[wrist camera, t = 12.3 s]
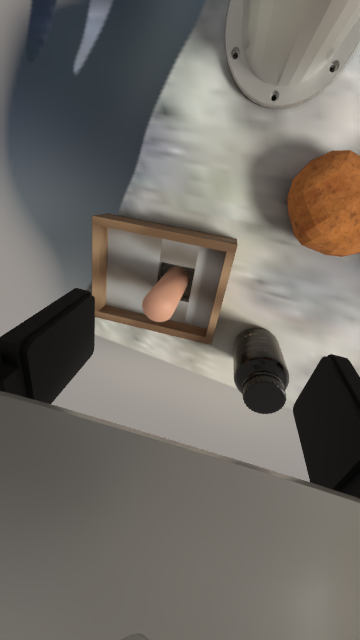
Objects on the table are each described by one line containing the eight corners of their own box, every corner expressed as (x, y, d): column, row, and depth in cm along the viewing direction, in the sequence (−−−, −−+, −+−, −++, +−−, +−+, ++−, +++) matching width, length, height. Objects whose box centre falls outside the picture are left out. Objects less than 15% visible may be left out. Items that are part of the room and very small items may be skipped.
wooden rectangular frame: (108, 213, 35) (92, 215, 31) (236, 239, 33) (237, 245, 29) (105, 304, 41) (91, 316, 37) (213, 330, 40) (211, 344, 36)
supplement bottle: (283, 358, 40) (302, 416, 29) (241, 368, 42) (244, 425, 31) (271, 320, 37) (287, 369, 27) (227, 333, 40) (225, 382, 29)
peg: (167, 264, 37) (143, 288, 27) (191, 269, 36) (176, 295, 27) (163, 287, 38) (140, 317, 29) (186, 292, 38) (171, 325, 28)
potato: (310, 267, 33) (329, 284, 27) (265, 192, 31) (274, 191, 24) (386, 221, 30) (431, 228, 23) (343, 132, 27) (379, 111, 20)
